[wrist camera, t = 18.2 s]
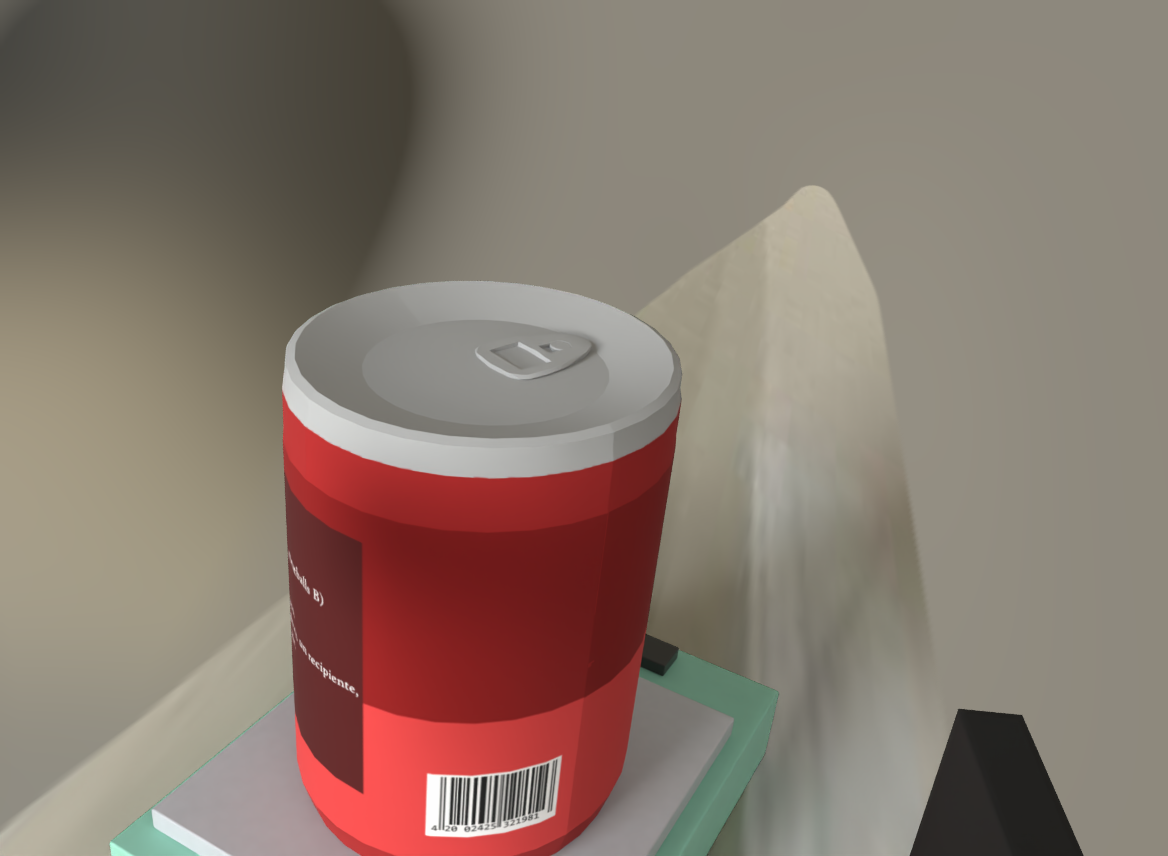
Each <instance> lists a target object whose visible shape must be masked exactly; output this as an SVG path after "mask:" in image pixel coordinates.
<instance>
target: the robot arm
mask: <svg viewBox="0 0 1168 856" xmlns="http://www.w3.org/2000/svg"><path fill="white" fill-rule="evenodd" d="M910 856H1083V853H1082V851H1081V849H1080V846H1079V844H1078V842H1077V840H1076V837H1075V835H1074V833H1073V830H1072V828H1071V826H1070V824H1069V821H1068V819H1067V817H1066V815H1065V812H1064V810H1063V808H1062V805H1061V803H1060V801H1059V799H1058V796H1057V794H1056V792H1055V789H1054V787H1053V785H1052V782H1051V780H1050V778H1049V776H1048V773H1047V771H1046V769H1045V766H1044V764H1043V762H1042V760H1041V757H1040V755H1039V753H1038V750H1037V748H1036V746H1035V744H1034V741H1033V739H1032V737H1031V734H1030V732H1029V730H1028V728H1027V725H1026V723H1025V721H1024V718H1023V716H1022V715H1015V714H1005V713H995V712H985V711H975V710H965V709H958V712H957V715H956V718H955V721H954V724H953V727H952V730H951V733H950V736H949V739H948V742H947V745H946V748H945V751H944V754H943V757H942V760H941V763H940V766H939V769H938V772H937V775H936V778H935V781H934V784H933V787H932V790H931V793H930V796H929V799H928V802H927V805H926V808H925V811H924V814H923V817H922V820H921V823H920V826H919V829H918V832H917V835H916V838H915V841H914V844H913V847H912V850H911V854H910Z"/></svg>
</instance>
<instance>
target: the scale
mask: <svg viewBox="0 0 1168 856" xmlns="http://www.w3.org/2000/svg"><path fill="white" fill-rule="evenodd" d="M778 695H779V692H778V691H776V690H774V689H771V688H769V687H767V686H764V685H762V684H759V683H757V682H755V681H752V680H750V679H747V678H745V677H743V676H740V675H738V674H735V673H733V672H731V671H728V670H726V669H723V668H721V667H719V666H716V665H714V664H711V663H709V662H707V661H704V660H702V659H699V658H697V657H695V656H692V655H690V654H688V653H685V652H683V651H680V650H679V648H678V647H676V646H673V645H671V644H669V643H666V642H664V641H661V640H659V639H657V638H654V637H652V636H649V635H647V634H645V641H644V647H643V653H642V659H641V666H640V672H639V678H638V684H637V691H636V697H635V703H634V710H633V716H632V722H631V728H630V735H629V741H628V747H627V752H626V756H625V761H624V765H623V769H622V773H621V775H620V776H619V778H618V780H617V782H616V784H615V786H614V788H613V790H612V791H611V793H610V795H609V797H608V798H607V800H606V802H605V803H604V805H603V807H602V808H601V810H600V812H599V813H598V815H597V816H596V817H595V819H594V820H593V821H592V822H591V823H590V824H589V825H588V827H587V828H586V829H585V830H584V831H583V832H582V833H581V835H580V836H578V837H577V838H576V839H574V840H573V841H572V842H570V843H569V844H568V845H566V846H565V847H564V848H562V849H561V850H560V851H558V852H557V853H555V854H553V855H551V856H706V855H707V853H708V852H709V850H710V848H711V847H712V845H713V843H714V841H715V840H716V838H717V836H718V834H719V833H720V831H721V829H722V827H723V826H724V824H725V822H726V820H727V819H728V817H729V815H730V813H731V812H732V810H733V808H734V807H735V805H736V803H737V801H738V800H739V798H740V796H741V794H742V793H743V791H744V789H745V787H746V786H747V784H748V782H749V780H750V779H751V777H752V775H753V773H754V772H755V770H756V768H757V767H758V765H759V763H760V761H761V760H762V758H763V756H764V754H765V751H766V747H767V743H768V738H769V734H770V730H771V725H772V721H773V717H774V712H775V708H776V704H777V699H778ZM110 848H111V855H112V856H361V855H359V854H358V853H356V852H355V851H353V850H351V849H350V848H348V847H347V846H345V845H344V844H343V843H342V842H341V841H340V840H339V839H338V838H337V837H336V836H335V835H334V834H333V833H332V832H331V831H330V830H329V828H328V827H327V826H326V825H325V823H324V821H323V820H322V818H321V816H320V814H319V813H318V811H317V809H316V808H315V806H314V804H313V802H312V800H311V798H310V796H309V794H308V792H307V790H306V788H305V786H304V784H303V781H302V777H301V773H300V770H299V766H298V762H297V749H296V727H295V704H294V691H293V692H292V693H291V694H289V695H288V696H287V697H286V698H285V699H283V700H282V701H281V702H280V703H279V704H277V705H276V706H275V707H274V708H272V709H271V710H270V711H269V712H268V713H266V714H265V715H264V716H263V717H261V718H260V719H259V720H258V721H257V722H255V723H254V724H253V725H252V726H250V727H249V728H248V729H247V730H246V731H244V732H243V733H242V734H241V735H240V736H238V737H237V738H236V739H235V740H233V741H232V742H231V743H230V744H229V745H227V746H226V747H225V748H224V749H222V750H221V751H220V752H219V753H218V754H216V755H215V756H214V757H213V758H212V759H210V760H209V761H208V762H207V763H205V764H204V765H203V766H202V767H201V768H199V769H198V770H197V771H196V772H194V773H193V774H192V775H191V776H190V777H188V778H187V779H186V780H185V781H183V782H182V783H181V784H180V785H179V786H177V787H176V788H175V789H174V790H173V791H171V792H170V793H169V794H168V795H166V796H165V797H164V798H163V799H162V800H160V801H159V802H158V803H157V804H155V805H154V806H153V807H152V808H151V809H149V810H148V811H147V812H146V813H145V814H143V815H142V816H141V817H140V818H138V819H137V820H136V821H135V822H134V823H132V824H131V825H130V826H129V827H127V828H126V829H125V830H124V831H123V832H121V833H120V834H119V835H118V836H116V837H115V838H114V839H113V840H112V841H111V842H110Z"/></svg>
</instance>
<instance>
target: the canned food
mask: <svg viewBox="0 0 1168 856" xmlns="http://www.w3.org/2000/svg"><path fill="white" fill-rule="evenodd" d="M681 379H682V370H681V364H680V358H679V356H678V355H677V353H676V352H675V350H674V348H673V347H672V345H671V343H670V342H669V341H668V340H666V339H665V338H664V337H663V336H662V335H661V334H660V333H659V332H658V331H657V330H656V329H654V328H653V327H651V326H649V325H648V324H646V323H645V322H643V321H641V320H640V319H638V318H637V317H635V316H633V315H631V314H628V313H626V312H624V311H622V310H619V309H617V308H615V307H612V306H610V305H608V304H605V303H602V302H599V301H596V300H593V299H590V298H587V297H583V296H580V295H577V294H573V293H568V292H564V291H559V290H555V289H551V288H545V287H538V286H531V285H525V284H516V283H504V282H490V281H447V282H432V283H421V284H413V285H408V286H400V287H393V288H389V289H384V290H380V291H376V292H372V293H368V294H365V295H360V296H357V297H355V298H352V299H349V300H346V301H344V302H341V303H338V304H336V305H333V306H331V307H329V308H327V309H326V310H324V311H322V312H320V313H318V314H316V315H315V316H313V317H311V318H310V319H309V320H308V321H307V322H305V323H304V324H303V325H302V326H301V327H300V328H299V329H297V330H296V331H295V333H294V335H293V336H292V338H291V340H290V341H289V343H288V345H287V346H286V357H285V370H284V376H283V387H282V394H283V395H282V397H283V424H284V430H283V453H284V476H285V497H286V498H285V499H286V522H287V544H288V567H289V590H290V613H291V636H292V658H293V681H294V704H295V727H296V749H297V762H298V766H299V770H300V773H301V777H302V781H303V784H304V786H305V788H306V790H307V792H308V794H309V796H310V798H311V800H312V802H313V804H314V806H315V808H316V809H317V811H318V813H319V814H320V816H321V818H322V820H323V821H324V823H325V825H326V826H327V827H328V828H329V830H330V831H331V832H332V833H333V834H334V835H335V836H336V837H337V838H338V839H339V840H340V841H341V842H342V843H343V844H344V845H345V846H347V847H348V848H350V849H351V850H353V851H355V852H356V853H358V854H359V855H361V856H551V855H553V854H555V853H557V852H558V851H560V850H561V849H562V848H564V847H565V846H566V845H568V844H569V843H570V842H572V841H573V840H574V839H576V838H577V837H578V836H580V835H581V833H582V832H583V831H584V830H585V829H586V828H587V827H588V825H589V824H590V823H591V822H592V821H593V820H594V819H595V817H596V816H597V815H598V813H599V812H600V810H601V808H602V807H603V805H604V803H605V802H606V800H607V798H608V797H609V795H610V793H611V791H612V790H613V788H614V786H615V784H616V782H617V780H618V778H619V776H620V775H621V773H622V769H623V765H624V761H625V756H626V752H627V747H628V741H629V735H630V728H631V722H632V716H633V710H634V703H635V697H636V691H637V684H638V678H639V672H640V666H641V659H642V653H643V647H644V641H645V634H646V628H647V622H648V616H649V609H650V603H651V597H652V591H653V584H654V578H655V572H656V565H657V559H658V553H659V547H660V540H661V534H662V528H663V522H664V515H665V509H666V503H667V497H668V490H669V484H670V478H671V472H672V465H673V459H674V453H675V446H676V433H677V426H678V420H679V413H680V407H681V400H682V398H681V391H680V386H681Z"/></svg>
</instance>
